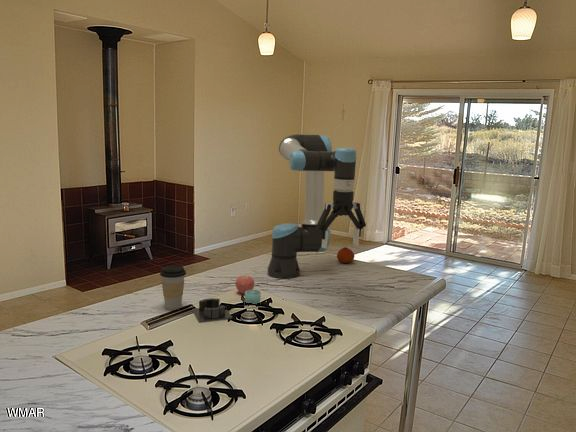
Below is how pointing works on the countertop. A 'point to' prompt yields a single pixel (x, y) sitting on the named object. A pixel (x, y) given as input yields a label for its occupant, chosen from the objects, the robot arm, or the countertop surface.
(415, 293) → the countertop surface
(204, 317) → the dark grey raised block
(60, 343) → the countertop surface
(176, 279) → the coffee cup
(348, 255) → the fruit
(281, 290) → the countertop surface
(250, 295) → the cap
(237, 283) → the apple
